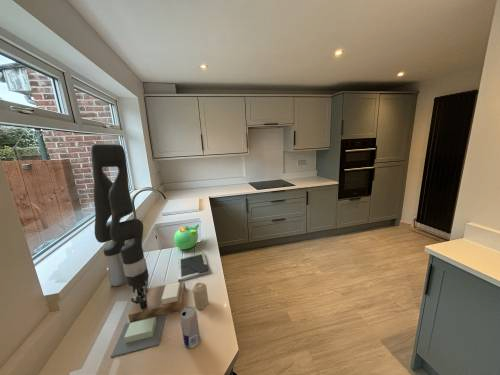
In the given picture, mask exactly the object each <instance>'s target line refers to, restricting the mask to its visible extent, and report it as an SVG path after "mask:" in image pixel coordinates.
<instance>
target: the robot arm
mask: <svg viewBox="0 0 500 375" xmlns="http://www.w3.org/2000/svg"><path fill="white" fill-rule="evenodd" d="M89 151H90V162H91V168H92V176H93V202H94V213H95V218H94V237H95V240H96V241H97V242H98V243H101V244H102V243H107V242H110V243H109V244H108V245H106V246H105V247H104V248H103V254H104V258H105V262H106V265H107V266H106V267H107V268H106V274H107V278H108V281H109V282H108V283H109V286H112V287H121V286H123V285H128V286H129V287H132V293H133V296H132V297H131V299H130V301H131V302H132V303H136V304H138V303H140V307H141V309H144V308H146V307H147V305H148V304H147V299H146V297H147V294H146V293H147V292H148V287H149V278H150V275H149V271H148V266H147V262H146V257H145V255H144V249H143V235H144V223H143V221H142V220H140V219H139V218H133V219H127V220H123V221H122V219H123V218H124V217H126V216H129V215H130V214H132V213H133V212H134V206H133V205H134V204H133V202H132V197H131V192H130V186H129V175H128V167H127V156H126V152H125V149H124V147H123V146H122V145H121V144H118V143H117V144H116V143H92V144H91V146H90V150H89ZM103 168H117V173H116V174H117V175H116V177H115V179H114V181H111V179H109V177H108V176H107V175H106V173H105V172H104V170H103ZM110 218H111V220H110V221H109V219H110ZM132 239H133V240H132ZM129 240H132V241H131V242H129V243H127V244H126V242H127V241H129Z"/></svg>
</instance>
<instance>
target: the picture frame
mask: <svg viewBox="0 0 500 375" xmlns="http://www.w3.org/2000/svg"><path fill="white" fill-rule="evenodd" d="M208 274H210V270H209V266H208V262H207V259H206V255H205V252H201V253H197V254H193V255H189V256H185V257H181V258H177V282H182V281H187V280H191V279H194V278H195V279H196V278H198V277H201V276H206V275H208Z"/></svg>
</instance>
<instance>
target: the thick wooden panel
mask: <svg viewBox="0 0 500 375" xmlns="http://www.w3.org/2000/svg"><path fill="white" fill-rule="evenodd" d="M166 285H167V284H164V285H159V286H153V287H149V288H148V292H147V293H146V294H147V297H146V299H147V304H148V305H147V307H146V308H144V309H141V307H140V303H138V304H136V303H134V302H132V305H131V308H130V310H129V311H128V314H127V316H128V320H129V323H130V322H134V321H138V320H142V319H147V318H151V317H155V316H160V315H164V314H166V316H167V315H171V314H176V313H181V311H182V310H183V309H184V304H185V303H184V301H185V295H186V290H187V288H186V280H184V281H181V282H180V291H179V297H178V301H176V302H171V303H167V304H162V296H163V293H164V289H165V286H166Z"/></svg>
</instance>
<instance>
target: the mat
mask: <svg viewBox="0 0 500 375" xmlns="http://www.w3.org/2000/svg"><path fill="white" fill-rule="evenodd" d="M155 317H156V326H155V330H154V333H153V336H151V337H147V338H144V339H140V340H136V341H132V342H128V343H125V339H124V336H125V334H126V332H127V329H128V327H129V325H130V323H133V322H130V321H129V322H126V323H125V324H124V326H123V328H122V331H121V333H120V334H119V338H118V339H117V341H116V345H115V346H114V348H113V350H112V352H111V355H110V358H114V357H115V358H116V357H118V356H122V354H123V355H127V354H130V353H129V352H131V353H134V352H137V350H138V351H141V349H142V350H144V349H145V350H146V349H149V348H153V347H157V346H159V345H160V341H161V337H162V333H163V331H164V330H163V329H164V324H165V320H166V317H167V315H166V314H164V315H160V316H155ZM151 318H154V317H151ZM147 319H150V318H147ZM142 320H145V319H142ZM138 321H141V320H138ZM134 322H137V321H134ZM133 351H134V352H133ZM126 353H127V354H126Z"/></svg>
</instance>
